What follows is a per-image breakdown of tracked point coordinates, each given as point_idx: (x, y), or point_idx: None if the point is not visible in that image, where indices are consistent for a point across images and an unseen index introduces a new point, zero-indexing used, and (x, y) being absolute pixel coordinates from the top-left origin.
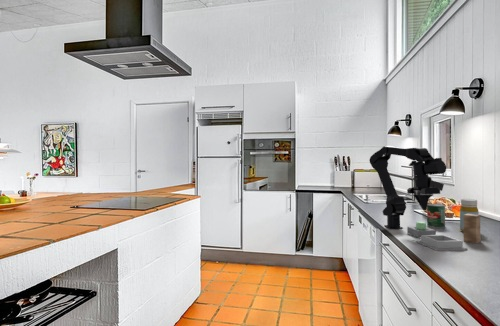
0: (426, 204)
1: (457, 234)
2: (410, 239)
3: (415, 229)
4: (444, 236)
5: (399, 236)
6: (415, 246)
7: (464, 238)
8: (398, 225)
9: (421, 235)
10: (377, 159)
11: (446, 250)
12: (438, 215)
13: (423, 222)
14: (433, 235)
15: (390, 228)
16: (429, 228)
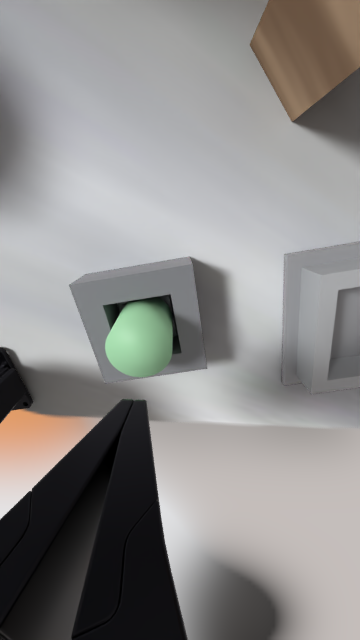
0: (153, 476)
1: (85, 21)
2: (233, 387)
3: (174, 369)
4: (346, 287)
5: (181, 408)
6: (335, 405)
7: (306, 108)
8: (10, 384)
9: (315, 393)
10: None
11: None
12: None
13: (128, 331)
14: (326, 342)
15: (31, 404)
16: (137, 278)
